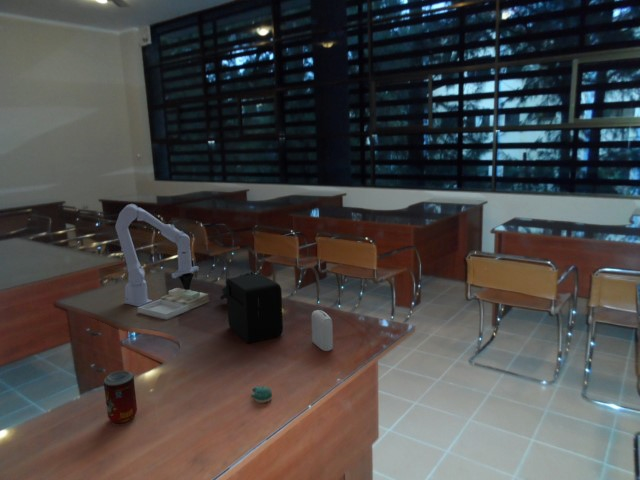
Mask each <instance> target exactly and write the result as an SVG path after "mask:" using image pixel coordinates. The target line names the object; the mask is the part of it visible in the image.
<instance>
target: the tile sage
mask: <svg viewBox="0 0 640 480" xmlns="http://www.w3.org/2000/svg"><path fill="white" fill-rule="evenodd" d="M198 297H200V292H199V291H196V292H195V291H194V290H190V291H189V292H187V293H184V294H183V298H184V299H189V300H193V299H195V298H198Z"/></svg>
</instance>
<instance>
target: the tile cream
mask: <svg viewBox="0 0 640 480" xmlns="http://www.w3.org/2000/svg"><path fill="white" fill-rule="evenodd" d="M184 293H185V289H184V288H180V287H176V288H175V287H174V288H173V289H169V290H168V294H169V295H170V296H175V297H178V296H180V295H183V294H184Z"/></svg>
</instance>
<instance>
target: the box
mask: <svg viewBox="0 0 640 480" xmlns="http://www.w3.org/2000/svg"><path fill="white" fill-rule="evenodd" d="M137 311H138V314H140V313H141V315H145V316H148V317H154V318H156V319H161V320H165V321H167V320H170V319H172V318H174V317H178V316H180V315H182V314H184V313H187V312H189V311H190V310H189V309H188V305H185V304H180V303H176V302H171V301H167V300H162V299H161V298H160V299H158V300H154V301H152V302H149V303H146V304H143V305H141V306H137Z"/></svg>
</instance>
